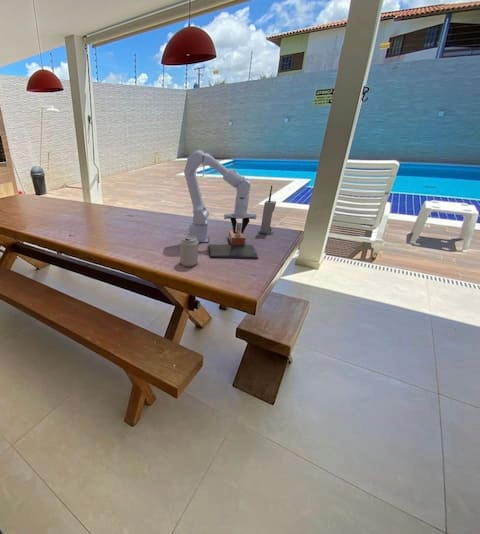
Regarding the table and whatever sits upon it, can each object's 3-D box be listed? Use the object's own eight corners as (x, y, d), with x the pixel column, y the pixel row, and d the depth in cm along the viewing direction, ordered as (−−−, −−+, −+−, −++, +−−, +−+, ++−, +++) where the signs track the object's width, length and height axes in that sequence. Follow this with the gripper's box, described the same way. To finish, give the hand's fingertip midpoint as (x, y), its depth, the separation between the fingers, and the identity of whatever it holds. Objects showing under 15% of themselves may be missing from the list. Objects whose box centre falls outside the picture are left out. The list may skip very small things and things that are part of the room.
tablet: (210, 257, 139) (210, 255, 139) (208, 246, 152) (208, 244, 151) (257, 258, 136) (257, 256, 135) (251, 247, 148) (251, 244, 147)
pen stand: (231, 245, 151) (232, 237, 149) (228, 237, 160) (229, 230, 159) (244, 245, 150) (245, 237, 148) (240, 238, 159) (241, 230, 158)
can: (177, 260, 138) (178, 235, 133) (194, 259, 139) (195, 234, 133) (182, 267, 132) (183, 241, 126) (199, 266, 132) (201, 240, 127)
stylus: (235, 243, 153) (237, 224, 148) (235, 242, 154) (237, 223, 150) (238, 243, 152) (241, 224, 148) (238, 242, 154) (240, 223, 150)
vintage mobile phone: (270, 234, 162) (278, 186, 151) (260, 233, 164) (267, 185, 153) (271, 232, 164) (279, 184, 154) (261, 231, 167) (268, 184, 156)
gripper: (226, 208, 143) (223, 235, 149) (259, 207, 140) (255, 235, 146) (224, 204, 149) (222, 230, 155) (256, 204, 146) (252, 231, 152)
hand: (238, 232), depth 151 cm, fingers open, 3 cm apart
